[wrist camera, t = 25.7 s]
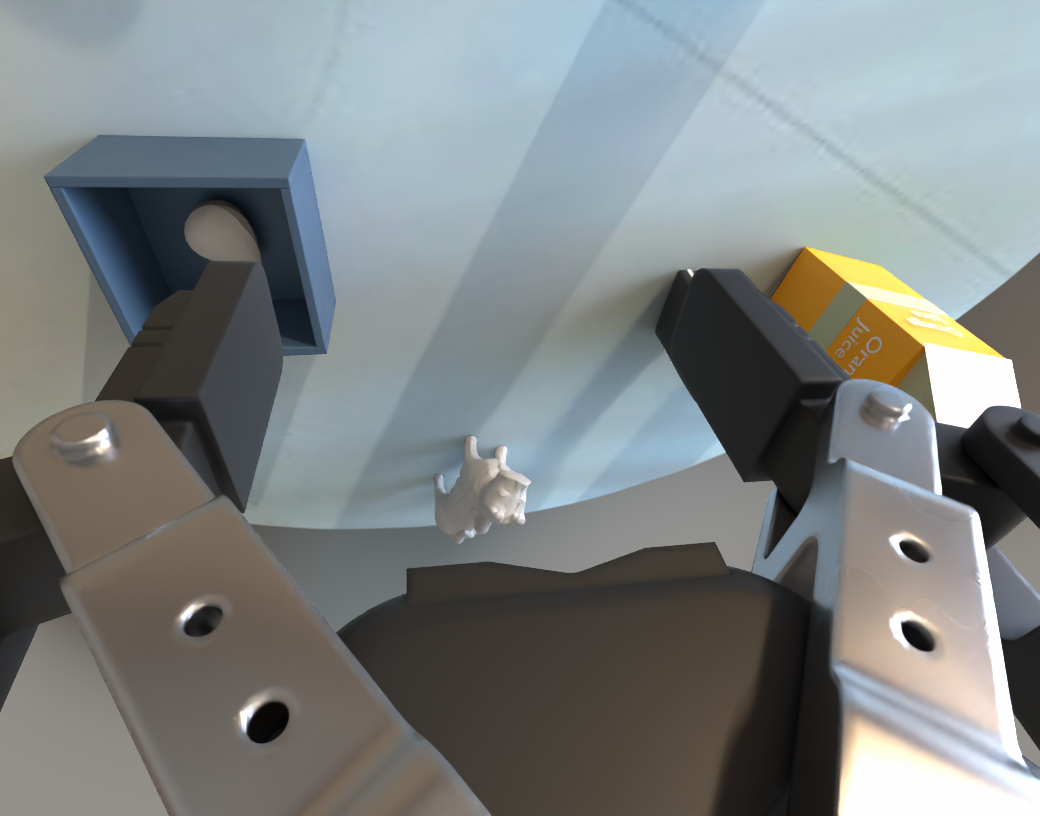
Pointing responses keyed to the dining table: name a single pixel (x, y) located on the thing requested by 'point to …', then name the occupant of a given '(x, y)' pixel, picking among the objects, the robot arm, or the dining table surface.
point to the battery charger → (673, 311)
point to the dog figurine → (480, 495)
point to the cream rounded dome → (221, 233)
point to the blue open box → (167, 205)
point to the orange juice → (895, 337)
